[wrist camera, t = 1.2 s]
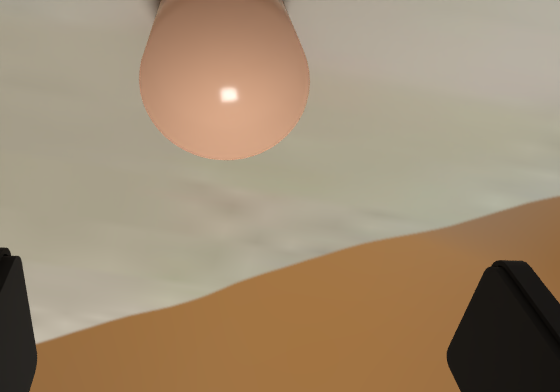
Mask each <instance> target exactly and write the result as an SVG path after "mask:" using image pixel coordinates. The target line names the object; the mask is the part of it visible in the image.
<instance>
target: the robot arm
mask: <svg viewBox="0 0 560 392" xmlns="http://www.w3.org/2000/svg"><path fill="white" fill-rule="evenodd" d="M447 362H448V365H449V368H450V370H451V372H452V374H453V376H454V378H455V380H456V382H457V385H458V387H459V389H460V391H461V392H560V304H559V302H558V301H557V300H556V299H555V297H554V296H553V295H552V294H551V292H550V291H549V290H548V289H547V287H546V286H545V285H544V283H543V282H542V281H541V280H540V278H539V277H538V276H537V275H536V273H535V272H534V271H533V269H532V268H531V267H530V266H529V265H528V264H527V263H526V262H523V261H505V260H499V261H496V262H494V263H493V264H492V266H491V267H488V268H487V269H486V270H485V271H484V273H483V276H482V278H481V280H480V282H479V284H478V286H477V288H476V290H475V293H474V294H473V297H472V299H471V301H470V303H469V305H468V307H467V309H466V311H465V313H464V316H463V318H462V320H461V322H460V324H459V326H458V328H457V330H456V332H455V335H454V337H453V339H452V341H451V343H450V345H449V347H448V350H447ZM36 365H37V351H36V345H35V339H34V333H33V327H32V321H31V315H30V309H29V303H28V297H27V291H26V285H25V279H24V273H23V267H22V261H21V258H20V257H19V256H11V253H10V251H9V249H8V248H0V392H29V391H30V387H31V384H32V381H33V377H34V374H35V370H36Z"/></svg>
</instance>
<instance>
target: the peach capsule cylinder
mask: <svg viewBox="0 0 560 392" xmlns="http://www.w3.org/2000/svg"><path fill="white" fill-rule="evenodd" d="M139 84H140V92H141V96H142V100H143V104H144V106H145V108H146V111H147V113H148V115H149V117H150V118H151V120H152V122H153V123H154V124H155V126H156V127H157V128H158V130H159V131H160V132H161V133H162V134H163V135H164V136H165V137H166V138H167V139H169V140H170V141H171V142H172V143H174V144H175V145H177V146H178V147H180V148H182V149H183V150H185V151H188V152H190V153H192V154H195V155H198V156H201V157H205V158H209V159H216V160H236V159H243V158H247V157H251V156H254V155H257V154H260V153H262V152H264V151H266V150H268V149H270V148H272V147H273V146H275V145H276V144H277V143H279V142H280V141H281V140H282V139H284V138H285V137H286V136H287V135H288V134H289V133H290V132H291V130H292V129H293V128H294V127H295V125H296V124H297V122H298V121H299V119H300V117H301V115H302V113H303V111H304V109H305V106H306V103H307V99H308V94H309V85H310V77H309V68H308V63H307V59H306V57H305V54H304V51H303V48H302V46H301V44H300V41H299V39H298V37H297V34H296V32H295V29H294V27H293V25H292V22H291V20H290V17H289V15H288V13H287V10H286V8H285V6H284V3H283V1H282V0H161V2H160V5H159V8H158V11H157V14H156V17H155V20H154V23H153V26H152V30H151V33H150V36H149V39H148V42H147V45H146V48H145V51H144V54H143V57H142V60H141V66H140V74H139Z"/></svg>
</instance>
